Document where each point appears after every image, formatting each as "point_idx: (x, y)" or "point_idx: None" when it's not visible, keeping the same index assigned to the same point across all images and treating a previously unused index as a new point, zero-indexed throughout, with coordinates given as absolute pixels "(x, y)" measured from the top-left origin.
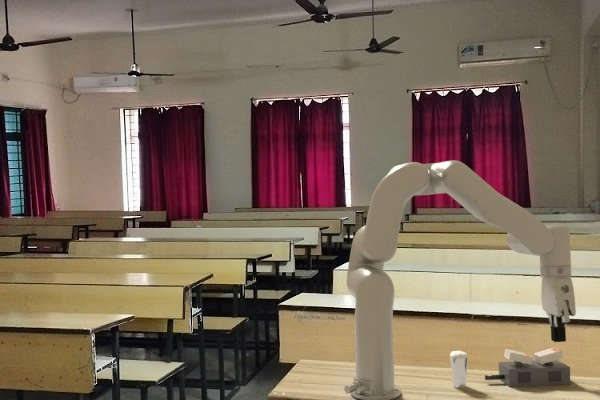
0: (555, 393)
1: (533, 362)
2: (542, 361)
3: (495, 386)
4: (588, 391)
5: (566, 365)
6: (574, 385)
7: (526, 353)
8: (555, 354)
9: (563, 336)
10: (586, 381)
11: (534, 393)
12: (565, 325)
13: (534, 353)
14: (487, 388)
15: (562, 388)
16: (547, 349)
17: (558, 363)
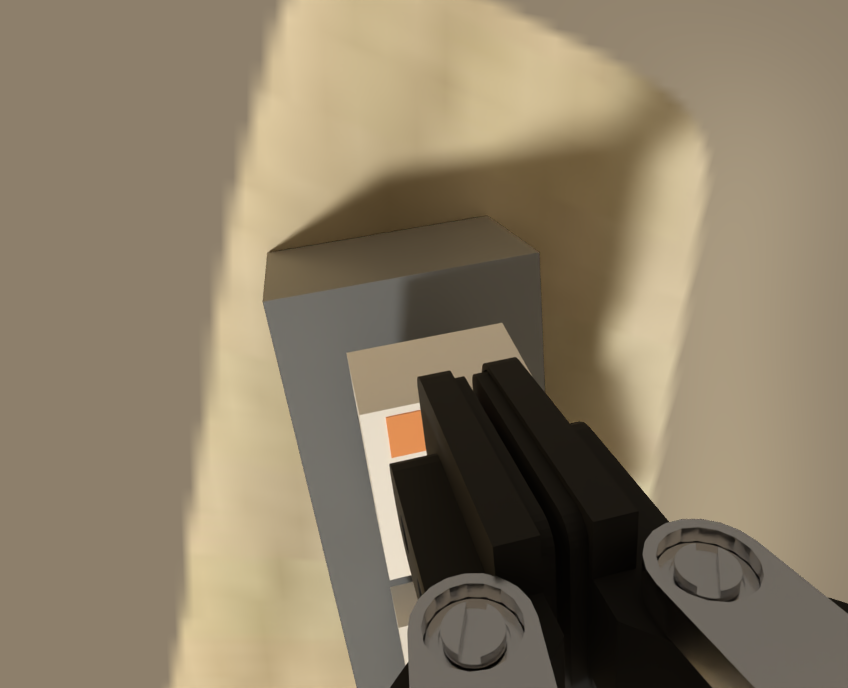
0: (657, 366)
1: (374, 520)
2: None
3: None
4: (652, 133)
5: (482, 268)
6: (507, 189)
7: (405, 635)
8: None
9: (590, 440)
10: (400, 39)
11: (638, 476)
12: (748, 550)
13: (401, 575)
14: None
15: (567, 298)
16: (379, 484)
17: (409, 325)
